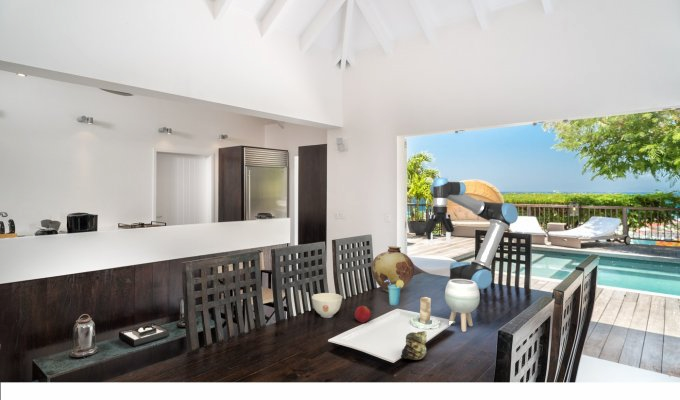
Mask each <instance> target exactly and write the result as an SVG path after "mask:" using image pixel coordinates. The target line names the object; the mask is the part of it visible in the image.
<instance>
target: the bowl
mask: <svg viewBox="0 0 680 400" xmlns="http://www.w3.org/2000/svg"><path fill="white" fill-rule="evenodd" d="M311 301H312V305H313V309H314V311H316V313H317V314H318V315H320V317H321V318H324V319H329V318H333V317H334V315H335V314H336V313H337V312H339V310H340V308H341V306H342V305H341V304H342V302H343V296H342V295H341V294H338V293H332V292H321V293H316V294H314V295H311Z"/></svg>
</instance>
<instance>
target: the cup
mask: <svg viewBox="0 0 680 400" xmlns="http://www.w3.org/2000/svg"><path fill="white" fill-rule="evenodd" d="M387 281H389V285H388V289H389V292H388V299H389V302H388V303H389V305H390V306H399V304H400V297H401V296H400V295H401V290H400V289H401V288H402V287H403V285H404V282H403V281H402V280H400V279H399V280H397V281H396V285H391V283H390V280H386V281H384V282H387Z"/></svg>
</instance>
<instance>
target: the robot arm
mask: <svg viewBox="0 0 680 400" xmlns="http://www.w3.org/2000/svg"><path fill="white" fill-rule="evenodd" d="M429 189H430V190H429V191H430V193H431V194H432V205H433V207H432V213H433V214H429V215H428V221H427V222H426V225H425V227H424V232H425V233H426V236H427V237H426V238H427V245H428V246H432V247H433V237H434V234H433V231H434V229H435V228H436V227H437V225H438V224H440V223H441V224H442V226H444V228H445V230H446V232H445V244H448V245H451V239H452V233H453V232H454V231H455V228H454V225H453V222H452V219H451V214H447V213H448V207H447V206H448V201H451V202H452V203H454V204H456V205H458V206H461V207H463V208H465V209H466V210H469V211H471V212H472V213H473V214H474V215H475V216H478V217H480V218H481V219H484V220H485V221H489V227H488V229H487V231H486V234H485V236H484V238H483V241H482V243H481V246H480V247H479V250H478V253H477V255H476V258H475V259H474V260H472V261H471V263H470V262H469V261H467V262H466V261H458V262H452V263H450V267H449V280H452V279H466V280H471V281H474V282H476V284H477V286H478V289H479V290H484V289H487V288H489V287H490V285H491V284H492V282H493V277H492V276H493V274H492V268H491V264H492V261H493V259H494V257H495V254H496V253H497V250H498V247H499V245H500V243H501V240H502V238H503V235H504V233H505V230H507V229H509V228H510V226H511V224H514V223H516V222H517V220H518V218H519V213H518V209H517V207H516V205H514V204H513V203H509V202H489V201H484V200H483V199H482V200H481V199H477V198H474V197H472V196H471V195H468V194H466V191H467V190H466V189H467V186H466V184H465V183H464V182H463V181H448V178H447V177H435V178H434V179H433V182H432V184H431V185H430V188H429Z"/></svg>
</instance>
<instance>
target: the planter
mask: <svg viewBox="0 0 680 400" xmlns="http://www.w3.org/2000/svg"><path fill="white" fill-rule="evenodd" d="M444 290H445V291H444V300H445V303H446V304H447V306H448V307H449V309H451V311H450V315H449V319H448V322H449V321H454V322H455V319H456V317H457V314H458V313H459V314H460V326H461V327H460V329H461V332H463V333H466V332H467V326H468V327H470V328H471V327H473V320H472V314H471V313H472V312H474V311H475V310H476V309H477V308H478V306H479V305H480V300H481V299H480V297H481V296H480V295H481V294H480V289H478V286H477V284H476V282H474V281H471V280H466V279H452V280H450V279H449V280H448V281H447V283H446V286H445V289H444Z"/></svg>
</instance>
